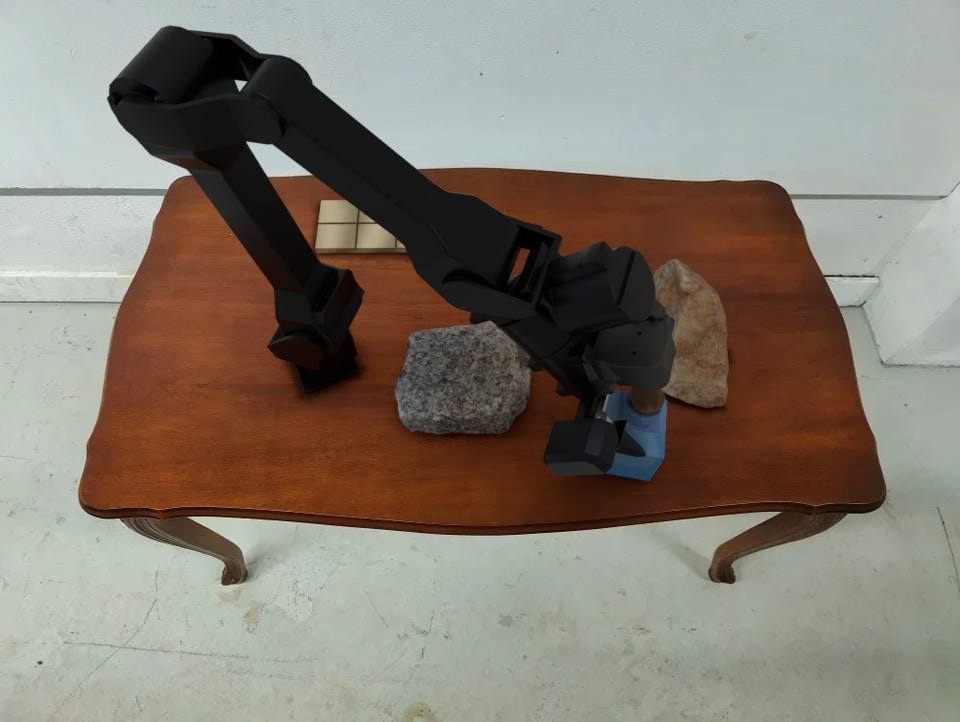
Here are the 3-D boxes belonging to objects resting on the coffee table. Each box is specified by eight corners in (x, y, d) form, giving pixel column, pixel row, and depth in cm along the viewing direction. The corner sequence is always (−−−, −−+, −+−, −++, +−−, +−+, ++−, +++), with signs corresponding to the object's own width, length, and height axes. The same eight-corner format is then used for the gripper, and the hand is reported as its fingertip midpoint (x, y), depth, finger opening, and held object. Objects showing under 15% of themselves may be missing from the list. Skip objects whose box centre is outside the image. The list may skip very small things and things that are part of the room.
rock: (391, 439, 76) (531, 444, 76) (387, 414, 70) (537, 420, 71) (401, 338, 82) (530, 343, 82) (397, 307, 76) (536, 314, 77)
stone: (642, 263, 86) (691, 240, 76) (705, 279, 88) (759, 259, 79) (627, 403, 83) (676, 397, 73) (693, 416, 85) (748, 411, 76)
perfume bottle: (649, 481, 72) (680, 432, 62) (589, 470, 73) (610, 421, 62) (652, 426, 76) (683, 372, 65) (594, 417, 76) (616, 361, 66)
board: (316, 253, 89) (314, 247, 88) (322, 205, 93) (320, 199, 92) (482, 251, 89) (482, 246, 88) (481, 204, 93) (481, 198, 92)
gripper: (602, 415, 50) (709, 514, 58) (655, 225, 59) (742, 333, 67) (492, 428, 58) (600, 513, 66) (554, 259, 67) (642, 352, 75)
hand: (649, 425), depth 68 cm, fingers closed on perfume bottle, 6 cm apart
